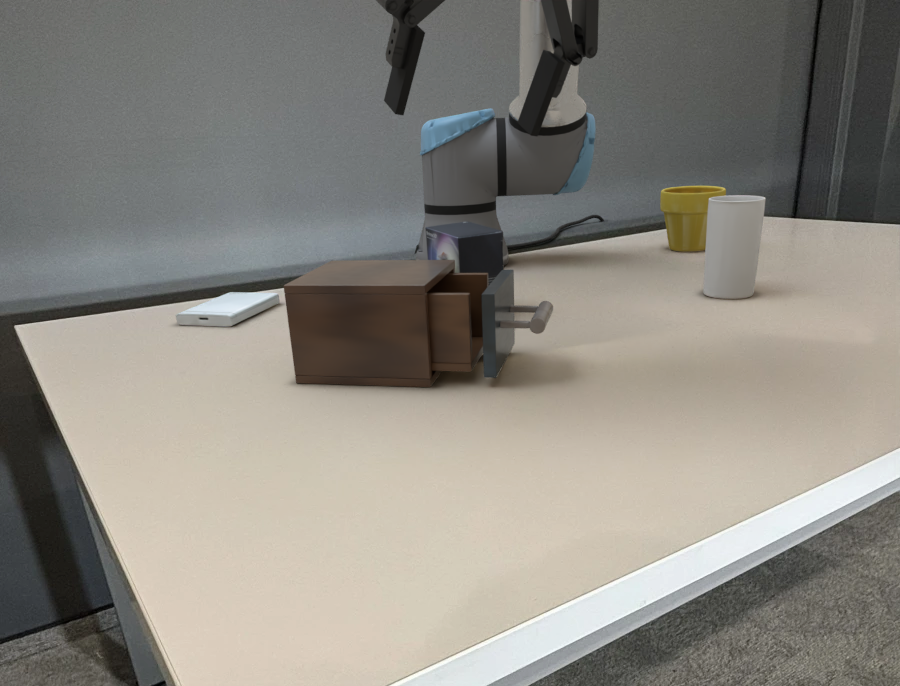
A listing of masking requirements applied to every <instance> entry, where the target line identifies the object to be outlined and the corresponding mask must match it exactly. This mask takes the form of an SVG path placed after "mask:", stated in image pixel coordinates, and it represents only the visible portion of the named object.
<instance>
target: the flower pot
mask: <svg viewBox="0 0 900 686" xmlns="http://www.w3.org/2000/svg"><path fill="white" fill-rule="evenodd" d="M717 196H727V189H726V188H725V187H722V186H715V185H683V186H672V187H666V188H663V189H661V190H660V197H659V198H660V200H659V202H660V203H659V205H660V206H659V209H660V211H661V212H662V213H663V217H664V223H665V230H666V236H667V242H668V248H669V250H670V251H674V252H681V253H693V252H694V253H696V252H703V251H705V249H706V232H707V214H708V203H709V198H711V197H717Z"/></svg>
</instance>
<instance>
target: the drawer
mask: <svg viewBox="0 0 900 686" xmlns="http://www.w3.org/2000/svg"><path fill="white" fill-rule="evenodd" d="M427 300H428V318H429V335H430V352H431V370H432V371H442V372H465V373H466V372H467V373H471V372H472V371H473V370H474V368H475V366H476V365H477V364H478V362H479V360H480V359H481V357H483V358H482V359H483V361H482V364H483V378H485V379H486V378H489V379H490V378H491V379H496V378H497V377H498V376H499V374H500V372H501V370H502V368H503V366H504V364H505V362H506V361H507V360H508V357H509V355H510V354H511V351H512V349H513V348H514V346H515V344H516V341H515V340H516V338H515V337H516V336H515V335H516V334H515V331H516V330H515V329H529V331H530V332H532V334H536V335H539V334H542V333H543V332H544V331H545V329H546V327H547V325H548V323H549V320H550V318H551V316H552V314H553V311H554V304H553V303H552V302H551V301H549V300H542V301H541V302H540V303H539V304H538V305H515V270H514V269H513V268H511V269H507V268H506V269H504V270H502V271H501V272H500V273H499V274H498V275H497V277H496V278H495V279H494V280H493V281H492V282H491V284H490V285H489V283H488V273H448V274H447V275H446V276H445V277H444V278H442V279H441V280H440V281H439V282H438V283H437V284H436V285H435V286H433V287H432V288H431V289H430V290H429V291H428V292H427ZM515 313H522V314H523V313H527V314H528V313H531V314H532V313H534V314H533V315H532V317H531V319H530V320H515Z"/></svg>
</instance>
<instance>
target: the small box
mask: <svg viewBox="0 0 900 686" xmlns="http://www.w3.org/2000/svg"><path fill="white" fill-rule="evenodd" d="M425 229H426V242H427V256H428V260H455V273H488V283H489V285H490V284H491V282H492V281H493V280H494V279H495V278H496V277H497V275H498V274H499V273H500V272H501V271H502V270H505V269H504V266H505V265H503V236H504V231H503V230H502V229H501V230H498V229H494V228H490V227H486V226H483V225H479V224H475V223H472V222H468V221H466V222H459V223H452V224H445V225H437V226H430V227H425Z"/></svg>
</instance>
